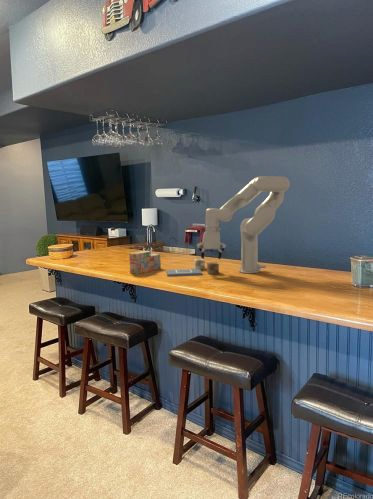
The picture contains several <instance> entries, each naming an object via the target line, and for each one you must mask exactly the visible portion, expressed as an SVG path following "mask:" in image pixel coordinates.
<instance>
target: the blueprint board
mask: <svg viewBox="0 0 373 499" xmlns="http://www.w3.org/2000/svg"><path fill="white" fill-rule="evenodd" d="M202 275H203V272H202V270H200V269H199V268H197V269H195V268H177V269H176V268H174V269H166V276H167V277H181V276H183V277H184V276H185V277H187V276H202Z"/></svg>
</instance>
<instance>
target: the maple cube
mask: <svg viewBox="0 0 373 499" xmlns="http://www.w3.org/2000/svg"><path fill="white" fill-rule="evenodd" d="M193 265H194V268H193V269H197V268H199V269H200V271H203V270H206V260H205V258H204V259H202V258H194V259H193Z"/></svg>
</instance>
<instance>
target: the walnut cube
mask: <svg viewBox="0 0 373 499" xmlns="http://www.w3.org/2000/svg"><path fill="white" fill-rule="evenodd" d="M219 268H220V264H219V262H216V261H214V262H213V261H212V262H206V272H207V274H208V275H218V274H220V269H219Z"/></svg>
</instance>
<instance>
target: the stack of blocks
mask: <svg viewBox="0 0 373 499" xmlns="http://www.w3.org/2000/svg"><path fill="white" fill-rule="evenodd" d="M128 255H129V273H130V274H136V275H140V274H144V273H147V271H148V272H151V270H152V271H155V269H156V270H160V269H161V266H162V265H161V263H162V262H161V254H160V253H151V250H141V251H140V250H139V251H134V252H131V253H129V254H128ZM143 272H144V273H143ZM139 273H140V274H139Z"/></svg>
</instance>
